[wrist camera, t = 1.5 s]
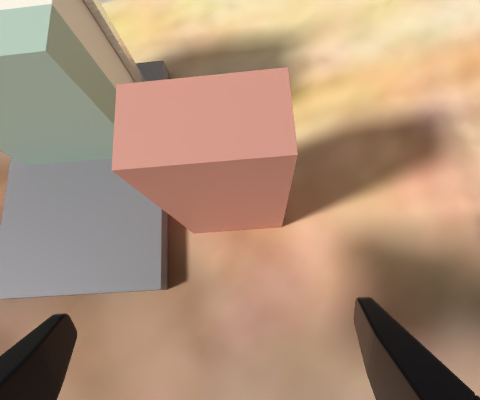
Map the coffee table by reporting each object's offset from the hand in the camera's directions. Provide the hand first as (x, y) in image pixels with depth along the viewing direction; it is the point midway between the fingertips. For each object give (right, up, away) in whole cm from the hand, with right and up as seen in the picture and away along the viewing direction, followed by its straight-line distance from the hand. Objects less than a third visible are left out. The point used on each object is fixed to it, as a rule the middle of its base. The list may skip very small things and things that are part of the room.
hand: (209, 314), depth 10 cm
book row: (-11, +9, +15) cm, 21 cm away
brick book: (+1, +3, +14) cm, 14 cm away
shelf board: (-11, +5, +16) cm, 20 cm away
